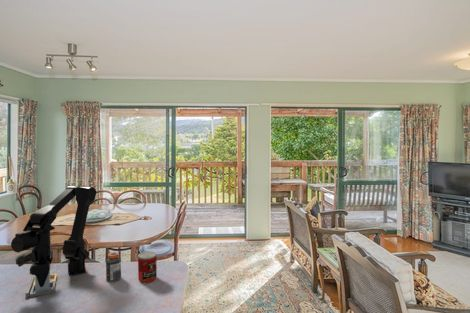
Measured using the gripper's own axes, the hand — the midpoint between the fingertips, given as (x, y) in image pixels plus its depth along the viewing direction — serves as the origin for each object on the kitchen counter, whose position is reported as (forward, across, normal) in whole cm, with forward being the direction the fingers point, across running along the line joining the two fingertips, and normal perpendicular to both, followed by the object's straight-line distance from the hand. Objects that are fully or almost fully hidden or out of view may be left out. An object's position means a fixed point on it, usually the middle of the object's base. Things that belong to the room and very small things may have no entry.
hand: (43, 281), depth 116 cm
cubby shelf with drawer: (+4, -4, 0) cm, 5 cm away
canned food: (+4, +10, +39) cm, 40 cm away
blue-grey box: (+4, 0, 0) cm, 4 cm away
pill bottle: (+4, +3, +26) cm, 26 cm away
